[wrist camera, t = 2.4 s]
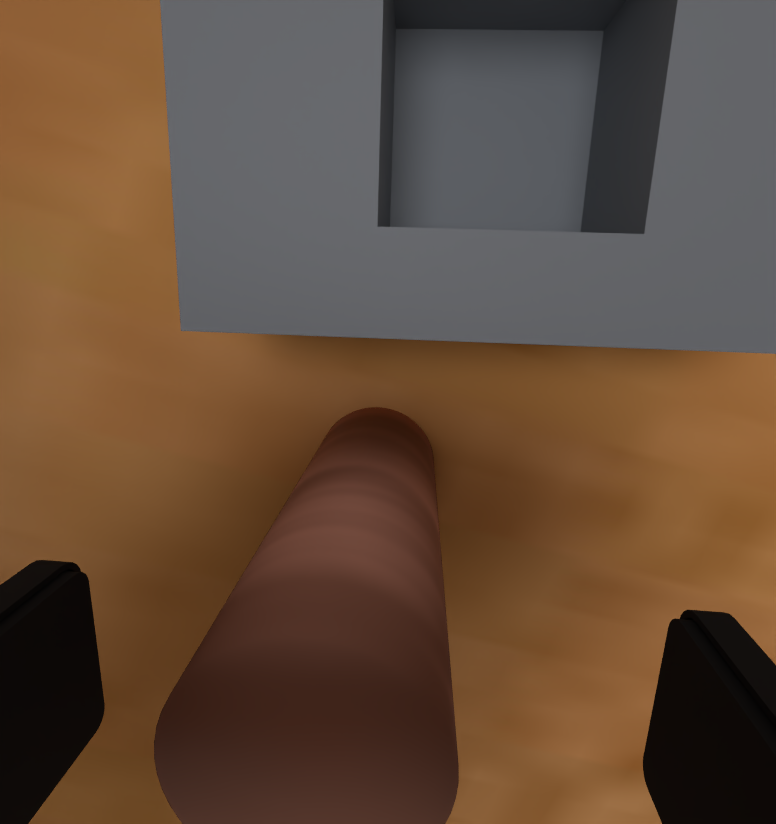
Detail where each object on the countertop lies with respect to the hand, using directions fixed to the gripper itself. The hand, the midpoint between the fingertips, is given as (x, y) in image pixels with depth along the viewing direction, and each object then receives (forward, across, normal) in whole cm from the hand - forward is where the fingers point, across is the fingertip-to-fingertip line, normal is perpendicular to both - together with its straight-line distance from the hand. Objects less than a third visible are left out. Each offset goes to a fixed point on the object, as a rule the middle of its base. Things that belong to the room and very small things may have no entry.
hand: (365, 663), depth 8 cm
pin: (+10, +1, 0) cm, 10 cm away
